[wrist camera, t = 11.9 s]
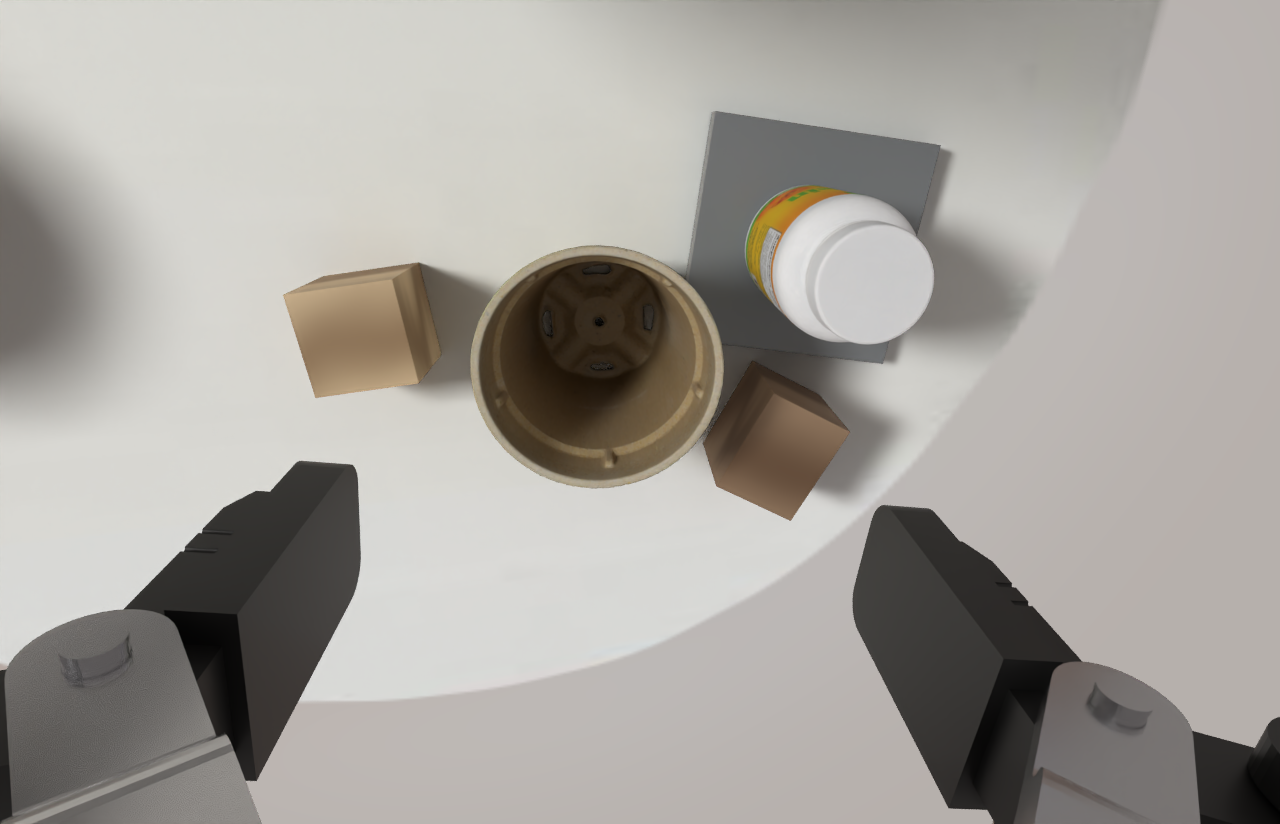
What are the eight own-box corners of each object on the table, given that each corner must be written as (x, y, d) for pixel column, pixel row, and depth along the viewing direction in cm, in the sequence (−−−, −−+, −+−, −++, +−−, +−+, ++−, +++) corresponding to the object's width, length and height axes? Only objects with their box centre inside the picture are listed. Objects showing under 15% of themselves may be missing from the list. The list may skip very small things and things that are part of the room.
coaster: (711, 112, 32) (715, 111, 30) (929, 145, 32) (940, 145, 31) (676, 332, 35) (679, 338, 34) (874, 356, 36) (882, 363, 35)
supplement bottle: (868, 185, 32) (972, 203, 23) (851, 306, 34) (941, 367, 25) (748, 181, 31) (804, 198, 22) (737, 303, 33) (785, 363, 24)
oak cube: (324, 275, 33) (283, 294, 29) (419, 262, 33) (391, 279, 29) (350, 367, 35) (315, 397, 31) (441, 354, 35) (418, 383, 31)
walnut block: (752, 360, 36) (773, 393, 31) (819, 394, 37) (850, 432, 32) (703, 442, 37) (716, 486, 33) (768, 474, 38) (790, 520, 33)
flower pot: (728, 361, 36) (763, 425, 28) (561, 441, 37) (548, 526, 29) (645, 183, 33) (657, 197, 24) (465, 277, 34) (420, 320, 26)
